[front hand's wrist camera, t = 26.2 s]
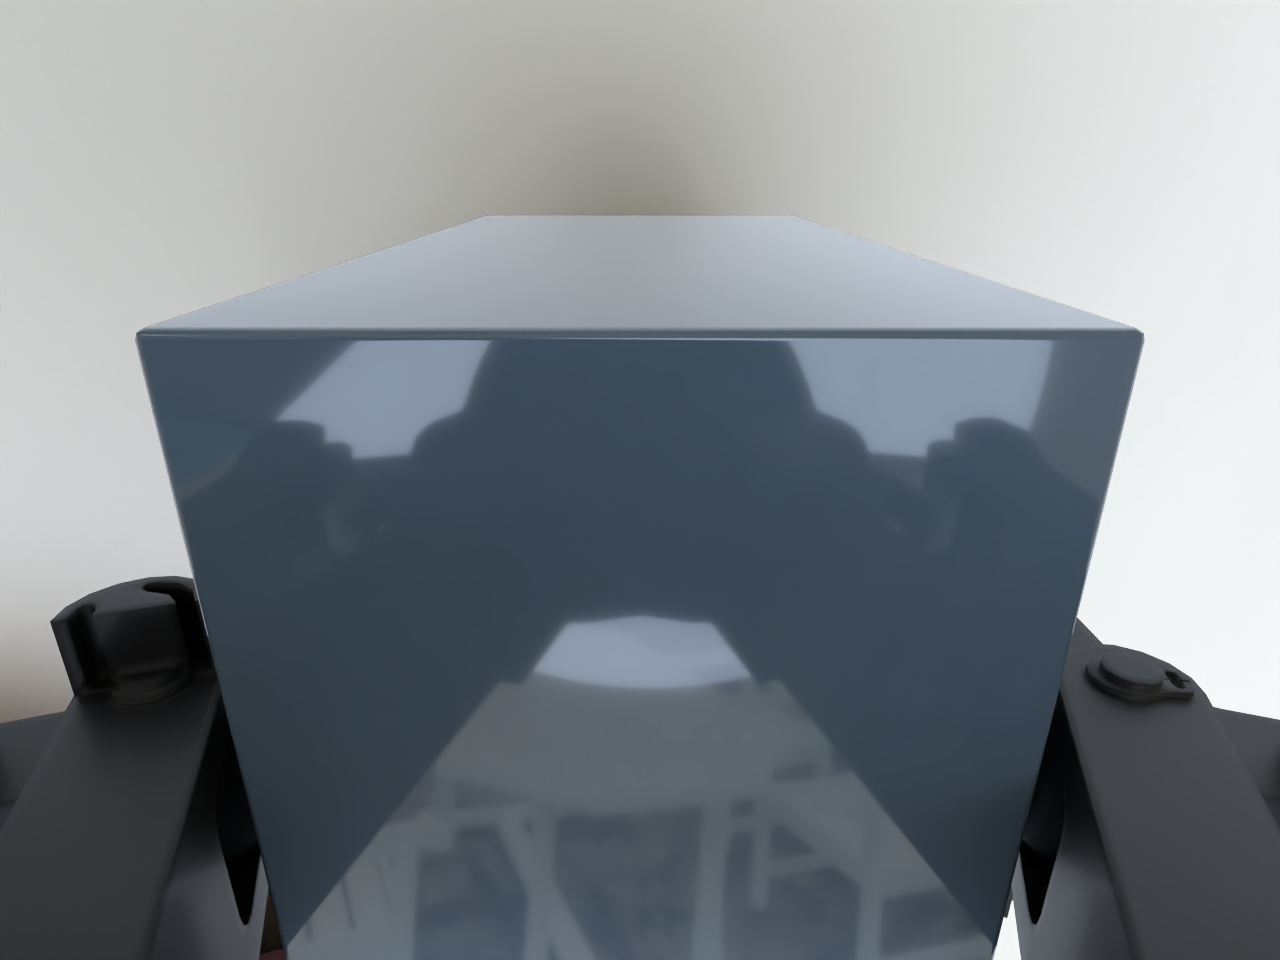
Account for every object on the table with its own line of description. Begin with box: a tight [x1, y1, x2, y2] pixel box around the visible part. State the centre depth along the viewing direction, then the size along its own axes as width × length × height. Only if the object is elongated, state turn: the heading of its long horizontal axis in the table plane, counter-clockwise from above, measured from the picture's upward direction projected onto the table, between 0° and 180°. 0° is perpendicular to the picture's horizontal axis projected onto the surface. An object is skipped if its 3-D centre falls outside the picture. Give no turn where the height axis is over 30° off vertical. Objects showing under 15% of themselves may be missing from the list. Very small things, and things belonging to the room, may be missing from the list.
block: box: [135, 216, 1144, 960], centre depth 12 cm, size 9×6×12 cm
